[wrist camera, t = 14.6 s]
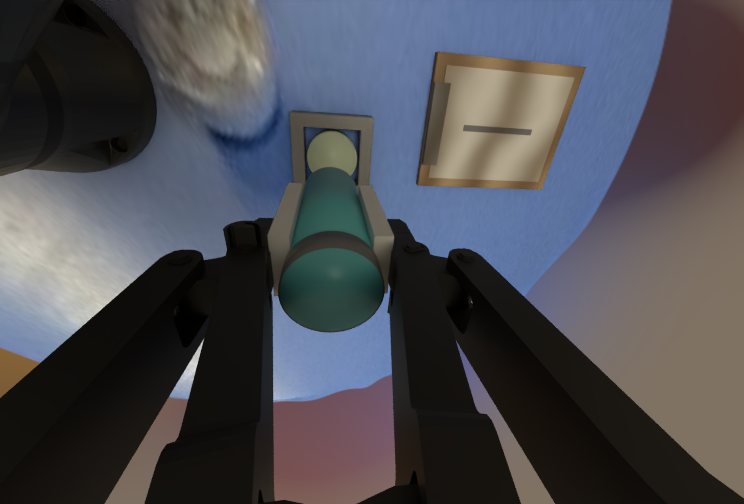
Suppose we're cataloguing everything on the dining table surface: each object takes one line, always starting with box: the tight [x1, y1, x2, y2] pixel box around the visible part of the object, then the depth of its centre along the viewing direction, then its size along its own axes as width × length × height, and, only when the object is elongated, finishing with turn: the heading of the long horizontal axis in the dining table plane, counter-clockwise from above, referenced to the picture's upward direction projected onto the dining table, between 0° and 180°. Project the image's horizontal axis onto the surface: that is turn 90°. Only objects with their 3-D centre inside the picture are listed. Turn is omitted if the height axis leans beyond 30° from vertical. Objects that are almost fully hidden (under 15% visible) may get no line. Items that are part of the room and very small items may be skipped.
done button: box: [307, 129, 357, 176], centre depth 31 cm, size 5×5×3 cm
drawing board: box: [416, 52, 586, 190], centre depth 32 cm, size 16×13×1 cm
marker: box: [278, 167, 385, 332], centre depth 16 cm, size 4×4×13 cm
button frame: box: [290, 110, 374, 192], centre depth 31 cm, size 8×8×2 cm
